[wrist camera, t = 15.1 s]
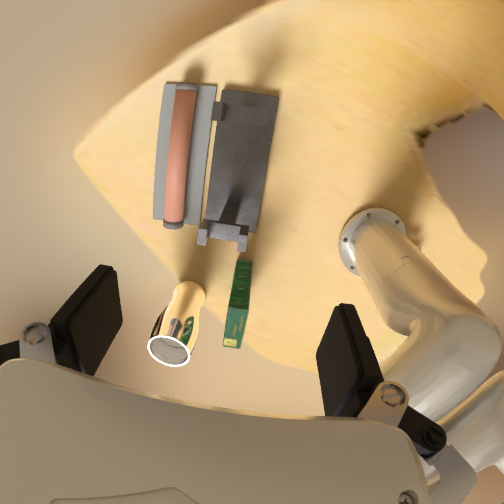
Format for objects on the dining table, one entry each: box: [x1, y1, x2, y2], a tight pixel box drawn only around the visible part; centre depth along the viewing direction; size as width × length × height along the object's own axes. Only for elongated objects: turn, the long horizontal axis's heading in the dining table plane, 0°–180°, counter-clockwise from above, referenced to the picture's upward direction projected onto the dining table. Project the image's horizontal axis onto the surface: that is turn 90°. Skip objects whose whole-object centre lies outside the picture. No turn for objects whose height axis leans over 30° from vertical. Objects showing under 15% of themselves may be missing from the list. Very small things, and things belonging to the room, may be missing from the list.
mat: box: [153, 84, 217, 226], centre depth 40 cm, size 8×22×1 cm, turn 171°
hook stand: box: [197, 90, 279, 252], centre depth 35 cm, size 8×21×13 cm, turn 171°
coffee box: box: [223, 259, 253, 349], centre depth 44 cm, size 8×3×13 cm, turn 170°
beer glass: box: [148, 281, 206, 366], centre depth 45 cm, size 7×7×15 cm
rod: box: [163, 83, 198, 229], centre depth 39 cm, size 22×3×3 cm, turn 171°
